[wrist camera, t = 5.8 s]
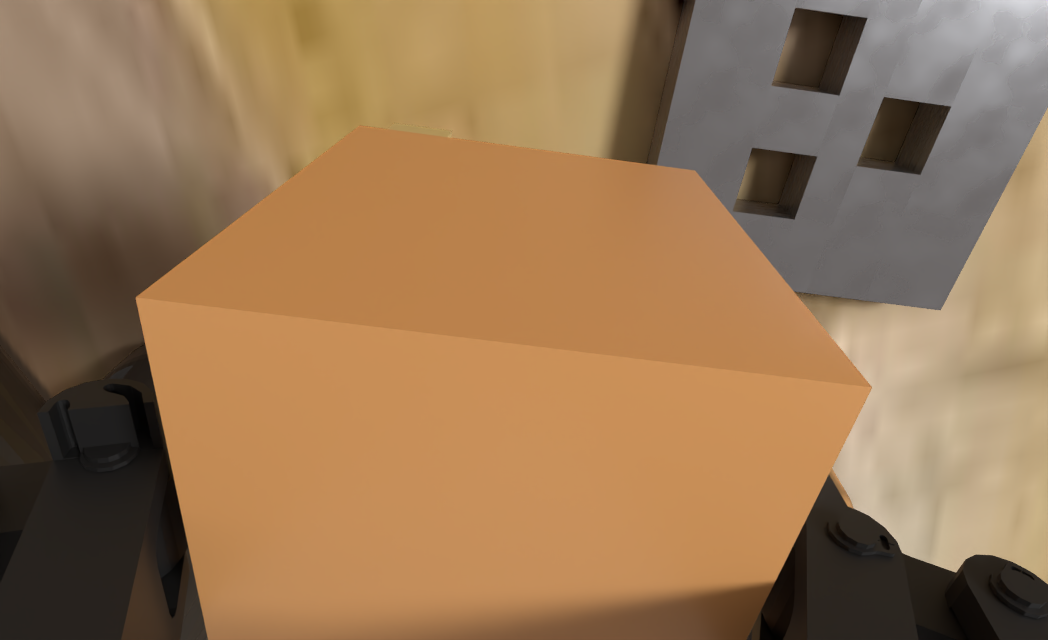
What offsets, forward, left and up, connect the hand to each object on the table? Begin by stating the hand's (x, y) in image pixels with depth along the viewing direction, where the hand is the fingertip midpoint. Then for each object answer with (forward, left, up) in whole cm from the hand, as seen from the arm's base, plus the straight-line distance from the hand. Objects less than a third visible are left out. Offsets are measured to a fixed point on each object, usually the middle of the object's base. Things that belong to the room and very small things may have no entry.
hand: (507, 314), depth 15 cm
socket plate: (+15, +3, -19) cm, 24 cm away
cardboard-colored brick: (0, 0, -2) cm, 2 cm away
